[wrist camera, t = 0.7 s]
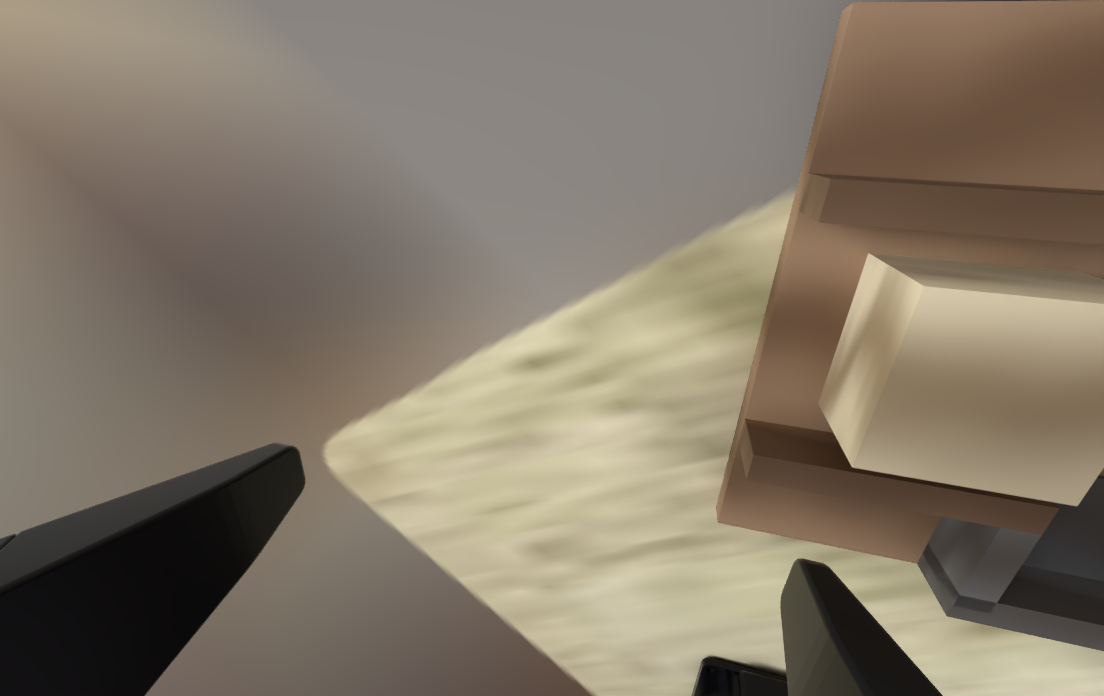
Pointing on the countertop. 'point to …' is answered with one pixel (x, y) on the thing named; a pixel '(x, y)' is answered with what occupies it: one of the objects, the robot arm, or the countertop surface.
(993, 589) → the trap lane
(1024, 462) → the maple block
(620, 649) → the countertop surface
